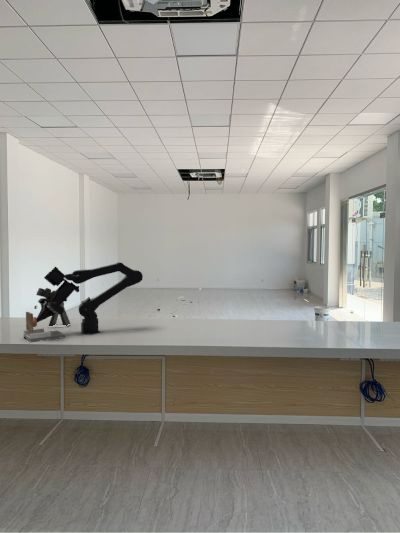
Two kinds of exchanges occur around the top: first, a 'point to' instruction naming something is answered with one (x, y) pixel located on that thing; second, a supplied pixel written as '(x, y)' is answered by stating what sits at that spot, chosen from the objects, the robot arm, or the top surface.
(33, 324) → the press plate
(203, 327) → the top surface
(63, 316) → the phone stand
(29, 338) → the press base
